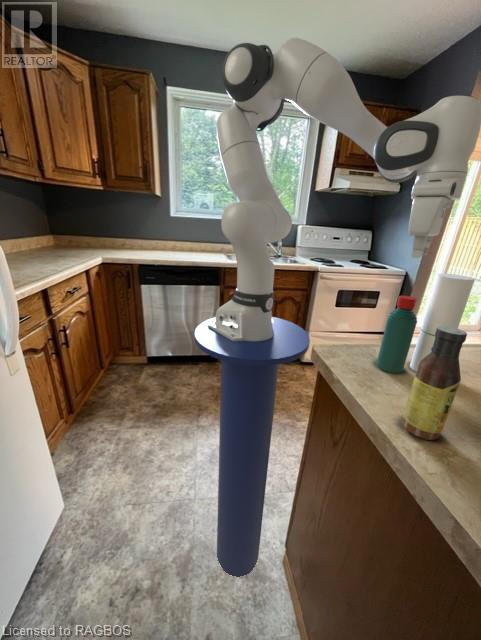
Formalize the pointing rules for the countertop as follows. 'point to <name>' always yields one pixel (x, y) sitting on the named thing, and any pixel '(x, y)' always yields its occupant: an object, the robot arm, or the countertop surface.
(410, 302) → the cap
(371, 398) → the countertop surface
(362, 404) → the countertop surface
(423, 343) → the cylindrical container
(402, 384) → the countertop surface
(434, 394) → the sauce bottle
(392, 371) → the water bottle
